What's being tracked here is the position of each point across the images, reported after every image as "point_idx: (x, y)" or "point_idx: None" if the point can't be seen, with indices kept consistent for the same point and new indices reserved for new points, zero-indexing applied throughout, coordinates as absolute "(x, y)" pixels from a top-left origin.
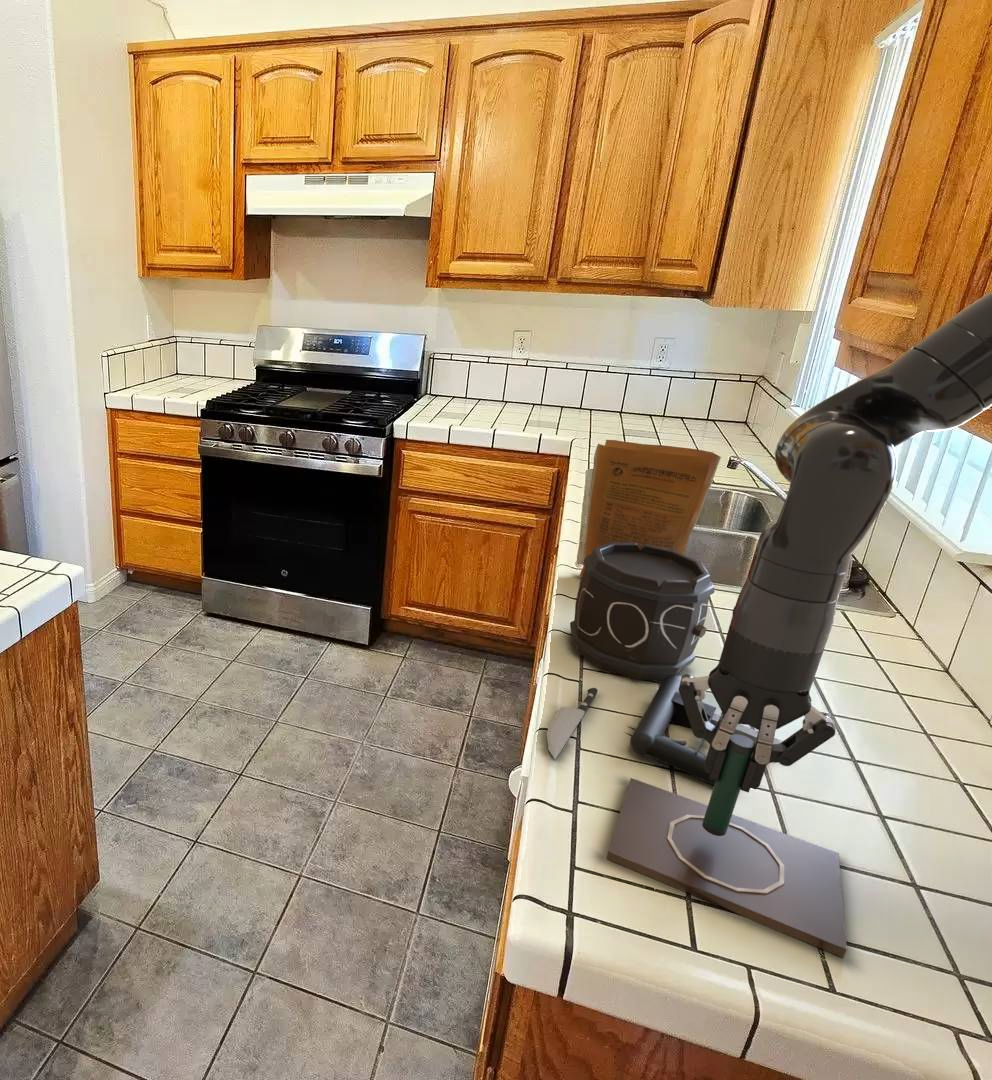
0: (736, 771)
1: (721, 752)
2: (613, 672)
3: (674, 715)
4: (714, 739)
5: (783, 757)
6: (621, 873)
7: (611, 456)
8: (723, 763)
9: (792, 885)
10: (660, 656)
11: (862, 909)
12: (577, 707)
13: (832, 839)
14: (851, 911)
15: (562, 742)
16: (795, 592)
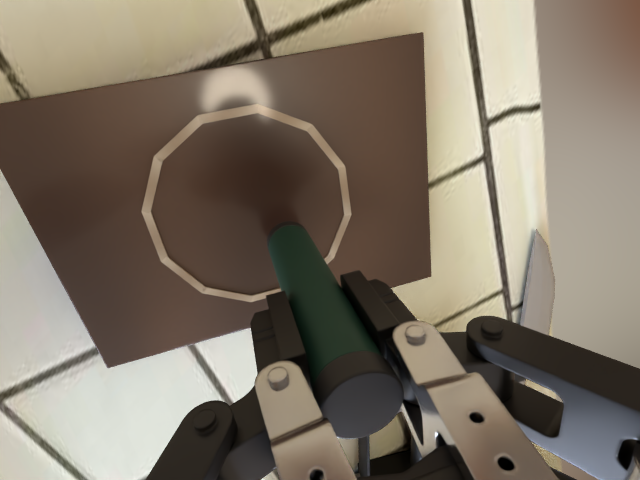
0: (319, 311)
1: (389, 325)
2: None
3: (407, 461)
4: (442, 340)
5: (216, 428)
6: (381, 14)
7: None
8: (357, 317)
9: (128, 220)
10: None
11: (25, 275)
12: None
13: (136, 399)
14: (35, 254)
15: (533, 276)
16: None
